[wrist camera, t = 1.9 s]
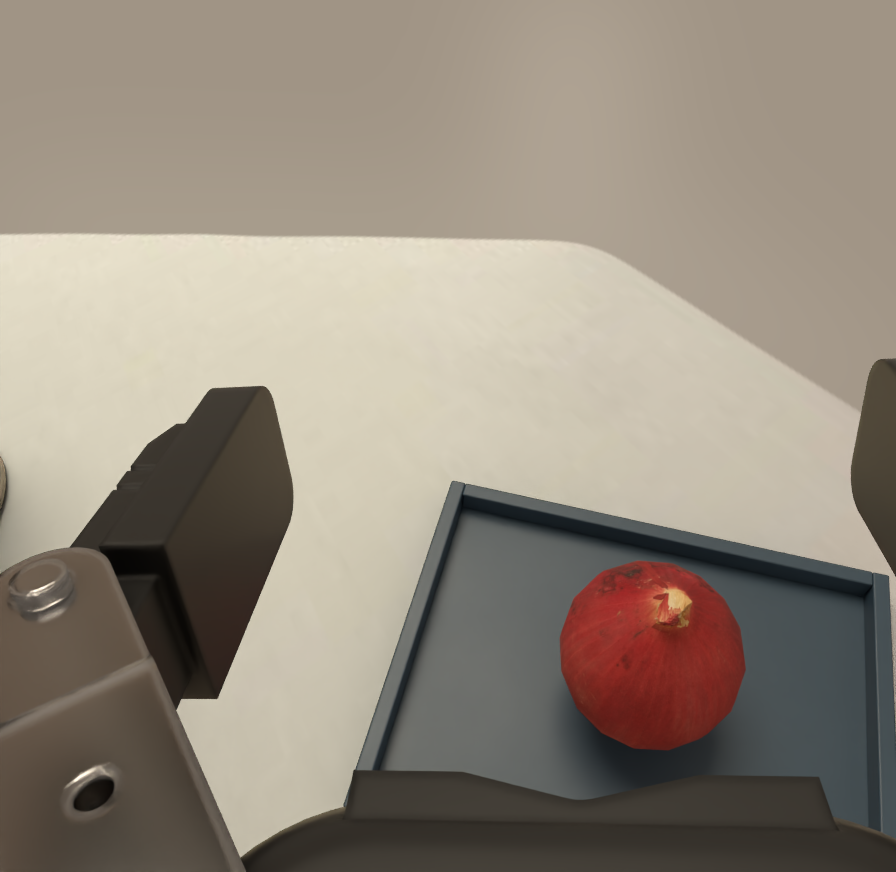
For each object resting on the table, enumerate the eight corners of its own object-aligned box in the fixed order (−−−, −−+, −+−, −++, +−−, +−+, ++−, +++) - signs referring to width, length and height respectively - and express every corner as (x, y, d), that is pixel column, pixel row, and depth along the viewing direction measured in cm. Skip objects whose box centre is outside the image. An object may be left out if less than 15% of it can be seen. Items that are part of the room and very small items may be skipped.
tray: (347, 815, 27) (342, 806, 26) (452, 496, 35) (451, 479, 34) (888, 981, 24) (907, 978, 23) (876, 590, 32) (889, 575, 31)
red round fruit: (528, 643, 31) (540, 537, 24) (667, 598, 32) (714, 484, 25) (591, 800, 27) (625, 724, 21) (745, 744, 28) (822, 656, 22)
